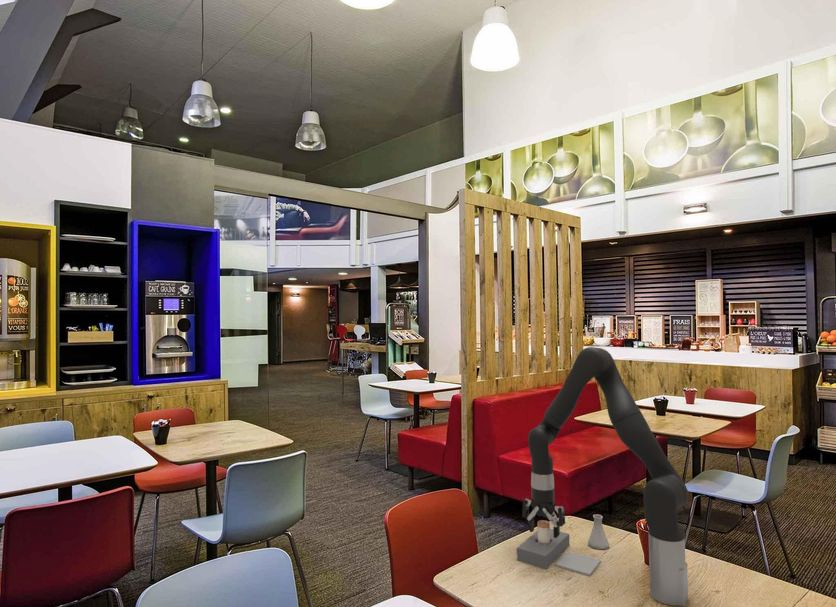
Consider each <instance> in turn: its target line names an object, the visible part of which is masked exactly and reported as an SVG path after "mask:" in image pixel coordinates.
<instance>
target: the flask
mask: <svg viewBox="0 0 836 607" xmlns="http://www.w3.org/2000/svg"><path fill="white" fill-rule="evenodd" d="M603 517H604V516H602V515H601V514H593V515H592V518H593V526H592V529H591V532H590V535H589V538H588V540H587V545H588V546H589V547H591V548H592V549H596V550H606V549H610V543H609V541H608V538H607V535H606V532H605V529H604V526H603V522H602V521H603Z"/></svg>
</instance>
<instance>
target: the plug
mask: <svg viewBox="0 0 836 607" xmlns="http://www.w3.org/2000/svg"><path fill="white" fill-rule="evenodd" d="M536 525H537V530H536V531H538V542H539V543H542V544H546V545H548V544H549V543H550V529H551V527H550V521H548V520H543V519H541V520H538V521H537V523H536Z"/></svg>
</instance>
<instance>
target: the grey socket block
mask: <svg viewBox="0 0 836 607" xmlns="http://www.w3.org/2000/svg"><path fill="white" fill-rule="evenodd" d="M570 545H571V544H570V533H566V532H563V531H560V535H559V536H558V537H557V538H554V531H553V528H550V543H549V544H548V545H546V544H542V543H539V542H538V530H536V531H535V532H534V533H533V534H532V535H530V537H528V538H526V539H525V540H524V541H523V542H522V543H521V544H519V545H518V546H517V547H516V561H519V562H523V563H525V564H528V565H532V566H534V567H538V568H541V569H545V570H546V569H548V568H549V567H550V566H551V565H552V564H553V563H554V561H556V560H557V559H558V558H559V557H560V555H562V554H563V553H564V552H565V551H566V550H567V549H568V548H569V547H570Z"/></svg>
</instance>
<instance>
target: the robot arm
mask: <svg viewBox="0 0 836 607" xmlns="http://www.w3.org/2000/svg"><path fill="white" fill-rule="evenodd" d="M570 369H571V370H570V371H569V373H568V376H567V378H566V379H565V382H564V383H563V384H562V387H561V388H560V390H559V392H558V394H557V395H556V396H555V397H554V399H553V400H552V402H551V404H550V405H549V406H548V408H547V409H546V410H545V412H544V417H543V419H542V420H541V422H540V423H539V424H538V426H536V427H534V428H532V429H531V430H530V431H529V433H528V438H527V441H528V442H527V443H528V444H527V445H528V448H529V453H530V457H531V477H530V479H531V480H530V486H531V489H530V490H531V492H530V493H531V495H530V496H531V500H530V499H529V498H525V499H523V500H522V511H521V512H522V515H521V516H522V518H525V519H526V520H527V527H528V528H527V529H528V530H529V532H530V533H533V532H534V531H535V519H534V518H535V517H536V515H537V517H543V518H546V519H548V520H549V522H551V523H552V525H553V527H552V530H553V531H554V538H557V537H558V536H559V535H560V532H561V531H560V527H563V526H564V525H565V524H566V514H565V507H564V505H561V506H559V505H557V506H556V504H555V476H554V461H553V460H554V459H553V456H552V455H551V454H550V452H549V446H550V445H551V444H553V442H554V441H555V440H556V439H557V437H558V435H559V433H560V432H561V429H562V427H563V426H564V425H565V423H566V422H567V421H568V420H569V418H570V417H571V415H572V414H573V412H574V411H575V409H576V406H577V404H578V401H579V399H580V395H581V394H582V392H583V390H584V388H585V387H586V385H587V384H588V383H590V381H591V380H592V379H593V378H594V379H595V381H596V382H597V384H598V385H599V387H600V389H601V391H602V393H603V396H604V399H605V403H606V410H607V414H608V418H609V420H610V423H611V424H612V426H613V428H614V430H615V432H616V434H617V436H618V438H619V439H620V441H621V442H622V443H623V445H625V446H626V448H628V449H629V450H630V451H631V452H632V453H633V454H634V455H635V456H636V457H637V458H638V459H640V461H641V462H642V463H643V465H644V466H645V468H646V469H647V471H648V473H649V475H650V477H651V478H652V479H651V480H649V481H648V482H646V483H645V486H644V489H643V508H644V510H643V511H644V519H645V523H646V525H647V529H648V562H649V563H648V564H649V565H648V566H649V568H648V570H649V571H648V572H649V594H650V597H651V598H653V599H654V600H655V601H657V602H659V603H662V604H664V605H669V606H681V607H685V606H686V604H687V601H688V598H689V588H688V587H689V584H688V583H689V581H688V578H689V577H688V563H687V562H686V539H685V538H686V537H685V534H686V533H685V528H684V526H683V525H682V524H681V523H680V522H678V509H681V508H682V507H685V505H687V504H688V501H689V491H688V488H687V485H686V484H685V482H684V481H683V479H682V478H681V476H680V475H679V473H678V471H677V470H676V469H675V468H674V466H673V465H672V463H671V461H670V460H669V458H668V457H667V456H666V454H665V452H664V451H663V449H662V447H661V445H660V443H659V441H658V440H657V439H656V437H655V435H654V433H653V431H652V429H651V427H650V425H649V424H648V422H647V420H646V418H645V416H644V415H643V413H642V410H641V409H640V408H639V406H638V404H637V403H636V402H635V400H634V397H633V396H632V394H631V393H630V391H629V389H628V387H627V386H626V385H625V382H624V380H623V379H622V377H621V374H620V371H619V369H618V367H617V364H616V361H615V360H614V358H613V356H612V355H611V353H610V352H609V351H607V350H606V349H604V348H600V347H594V346H590V347H585V348H583V349H582V350H580V352H579V353H578V355H577V356H576V358H575V360H574V363H573V364H572V367H571V368H570ZM530 506H531V508H532V511H531V512H530V511H529V509H530ZM555 511H556V513H557V515H558V517H557V515H556V513H555ZM529 512H530V513H529Z"/></svg>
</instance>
